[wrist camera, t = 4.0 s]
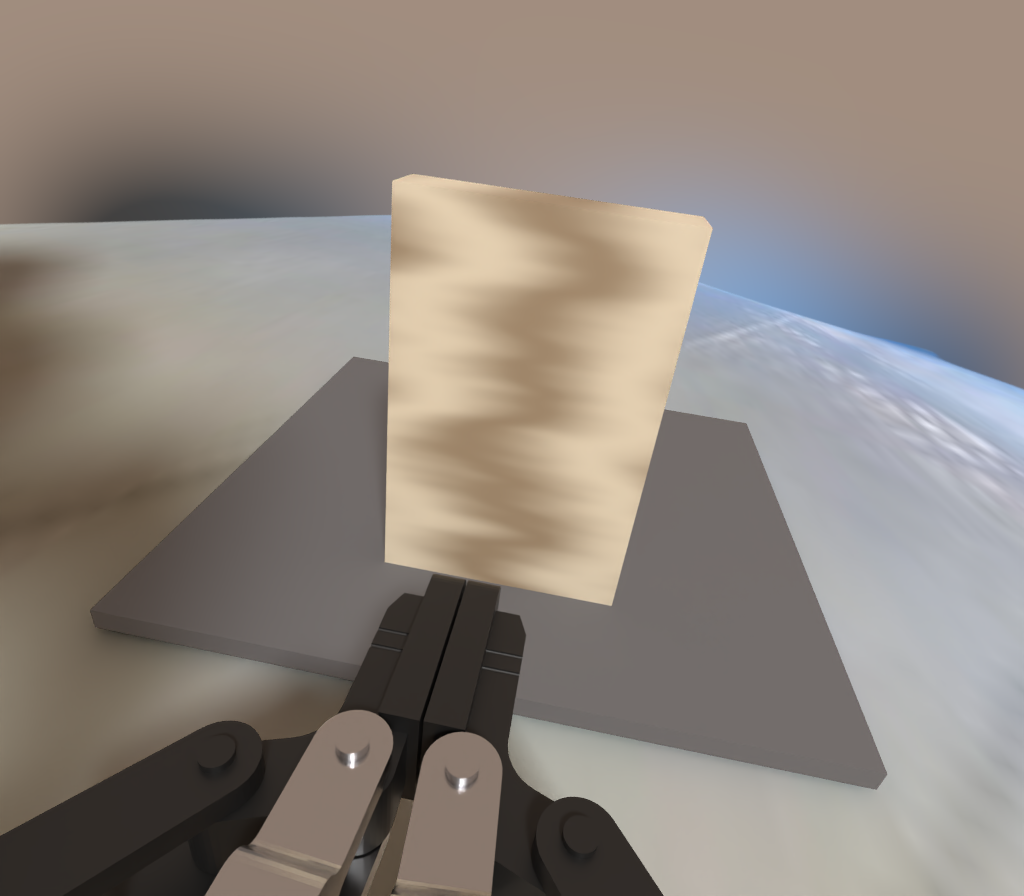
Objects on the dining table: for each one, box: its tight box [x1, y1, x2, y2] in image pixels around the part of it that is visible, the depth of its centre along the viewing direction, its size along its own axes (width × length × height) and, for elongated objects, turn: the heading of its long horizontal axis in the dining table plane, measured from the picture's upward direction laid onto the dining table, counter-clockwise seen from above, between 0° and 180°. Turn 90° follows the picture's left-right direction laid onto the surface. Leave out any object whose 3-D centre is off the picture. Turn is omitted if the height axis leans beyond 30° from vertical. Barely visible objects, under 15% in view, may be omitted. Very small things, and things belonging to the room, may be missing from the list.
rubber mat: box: [90, 357, 887, 790], centre depth 30 cm, size 26×24×1 cm
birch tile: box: [385, 174, 713, 606], centre depth 22 cm, size 9×2×14 cm, turn 81°
